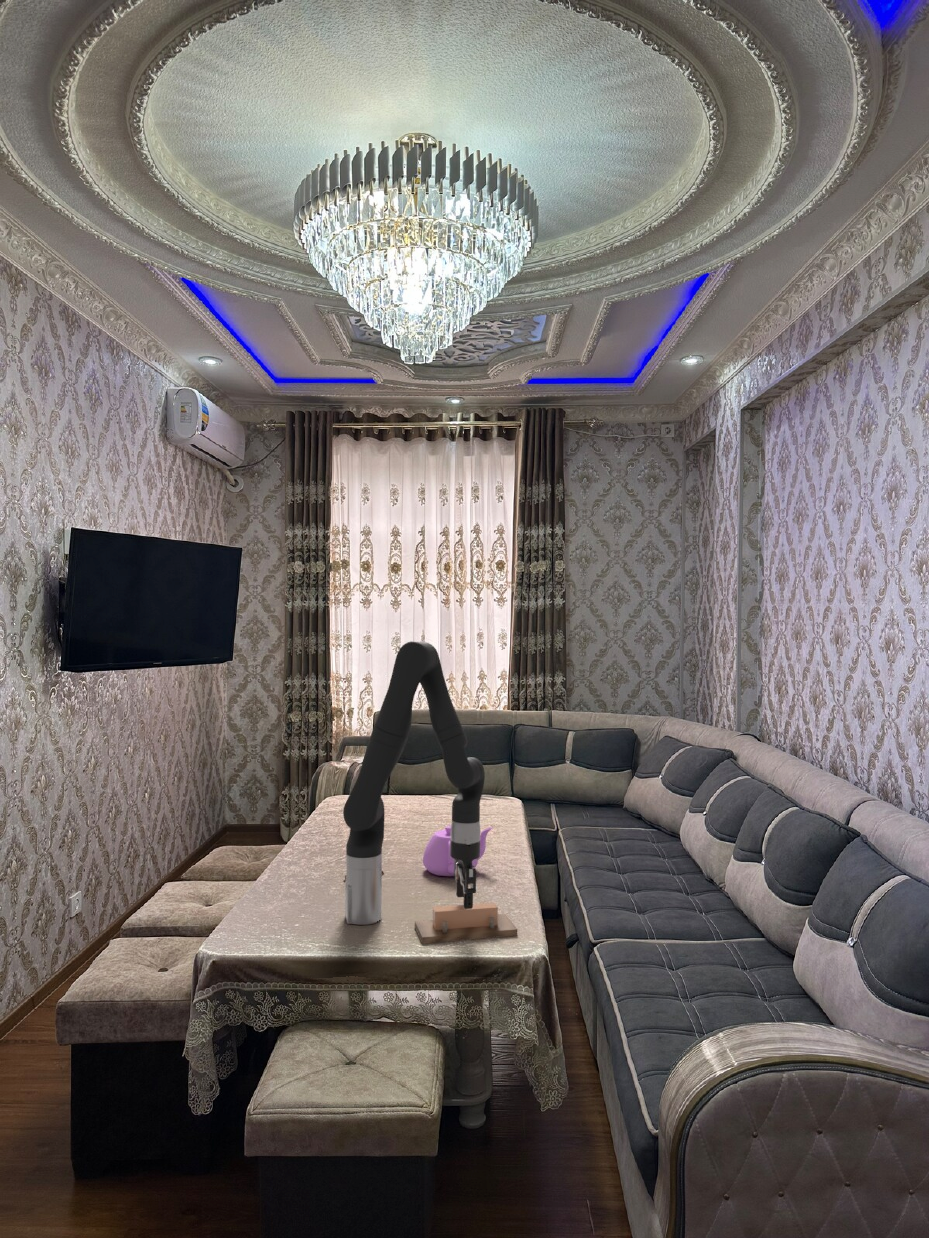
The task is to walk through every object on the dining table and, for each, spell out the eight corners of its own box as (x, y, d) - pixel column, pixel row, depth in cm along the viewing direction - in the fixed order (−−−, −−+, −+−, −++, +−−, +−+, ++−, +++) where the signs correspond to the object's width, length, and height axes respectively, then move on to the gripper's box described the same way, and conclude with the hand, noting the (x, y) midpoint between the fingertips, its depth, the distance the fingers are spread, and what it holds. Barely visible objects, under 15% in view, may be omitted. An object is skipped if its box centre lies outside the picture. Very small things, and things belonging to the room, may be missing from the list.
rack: (422, 943, 205) (422, 926, 205) (414, 926, 215) (414, 911, 215) (517, 935, 210) (517, 919, 210) (505, 919, 221) (505, 904, 221)
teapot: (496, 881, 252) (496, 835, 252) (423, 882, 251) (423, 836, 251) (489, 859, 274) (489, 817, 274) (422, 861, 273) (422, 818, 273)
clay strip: (434, 929, 210) (434, 911, 210) (432, 924, 213) (432, 906, 213) (497, 925, 213) (497, 907, 213) (494, 920, 216) (494, 902, 216)
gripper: (445, 831, 219) (444, 893, 219) (456, 846, 205) (455, 913, 205) (473, 830, 220) (472, 892, 220) (486, 845, 206) (485, 911, 207)
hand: (464, 902), depth 213 cm, fingers open, 8 cm apart
